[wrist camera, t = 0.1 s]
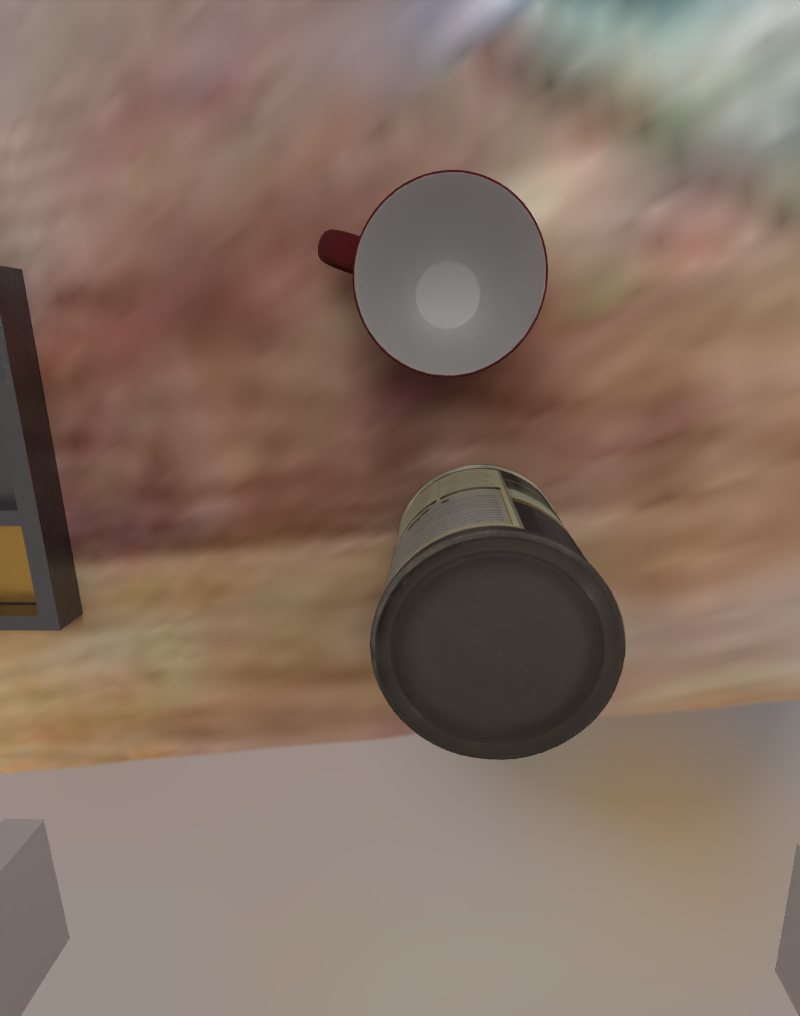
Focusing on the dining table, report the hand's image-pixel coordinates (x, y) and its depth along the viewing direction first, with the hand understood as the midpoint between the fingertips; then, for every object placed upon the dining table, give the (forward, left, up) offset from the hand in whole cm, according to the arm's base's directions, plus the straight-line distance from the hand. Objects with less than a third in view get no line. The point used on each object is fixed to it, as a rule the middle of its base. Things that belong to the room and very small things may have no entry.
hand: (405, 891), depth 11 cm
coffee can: (+3, +3, -28) cm, 28 cm away
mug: (-12, 0, -28) cm, 31 cm away
